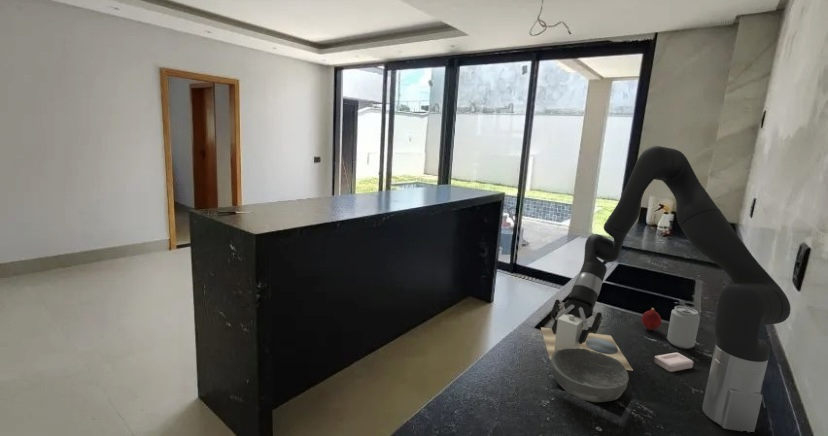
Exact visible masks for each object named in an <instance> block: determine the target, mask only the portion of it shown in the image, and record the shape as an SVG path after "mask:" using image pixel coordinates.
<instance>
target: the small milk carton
mask: <svg viewBox="0 0 828 436" xmlns="http://www.w3.org/2000/svg"><path fill="white" fill-rule="evenodd" d="M582 321H583V320H581V318H578V317H575V316H574V315H569V314H563V315H562V316H561V317H560V318H558V322H557V331H556V339H555V348H554V350H556V351H558V350H562V349H577V348H579V349H580V347H581V344H580V343H579V342H578V340H579V337H580V335H581V332H582V330H584V327H583V323H582Z"/></svg>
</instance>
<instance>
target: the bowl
mask: <svg viewBox="0 0 828 436" xmlns="http://www.w3.org/2000/svg"><path fill="white" fill-rule="evenodd" d="M549 362H550V371H551V374H552V375H553V379H554V380H555V381H556V383H558V385H559V387H561V388H562V389H563V390H564V391H565V392H566V393H568V394H569V395H571V396H573V397H574V398H577V399H580V400H583V401H587V402H592V403H605V402H613V401H616V400H618V399H619V398H620V397H621V396H622V394H623V393H624V392H625V391H626V389H627V388H628V382H629V380H630V378H629V372H628V370H626V369H625V367H624V366H623V365H622V364H621V362H619V361H618V360H616V359H614V358H612V357H610V356H606V355H604V354H601V353H597V352H594V351H590V350H587V349H579V348H577V349H562V350H558V351H555V352H554V353H553V355H552V357H551V360H550V361H549Z"/></svg>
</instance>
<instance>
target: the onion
mask: <svg viewBox="0 0 828 436" xmlns="http://www.w3.org/2000/svg"><path fill="white" fill-rule="evenodd" d="M661 317H662V316H661V315H660V313H658V312H657V311H656V310H655V308H654V307H651V309H649V310H647V311H645V312H643V313H642V316H641V322H642V324H643V326H644V327H645V328H646V329H647V330H649V331H652V330H655V329H656V330H657V329H658V328H659V327H660V326H661V324H662V318H661Z"/></svg>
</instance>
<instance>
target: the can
mask: <svg viewBox="0 0 828 436" xmlns="http://www.w3.org/2000/svg"><path fill="white" fill-rule="evenodd" d="M700 320H701V317H700V315H699V312H698V310H696V309H694V308H692V307H688V306H685V305H676V306H674V309H672V310H671V313H670V318H669V324H668V329H667V330H668V331H667V335H666V339H667V341H668V342H669V343H670V344H671V345H673V346H674V347H677V348H680V349H691V348H694V347H696V346H695V345H696V340H697V334H698V329H699V325H700Z"/></svg>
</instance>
